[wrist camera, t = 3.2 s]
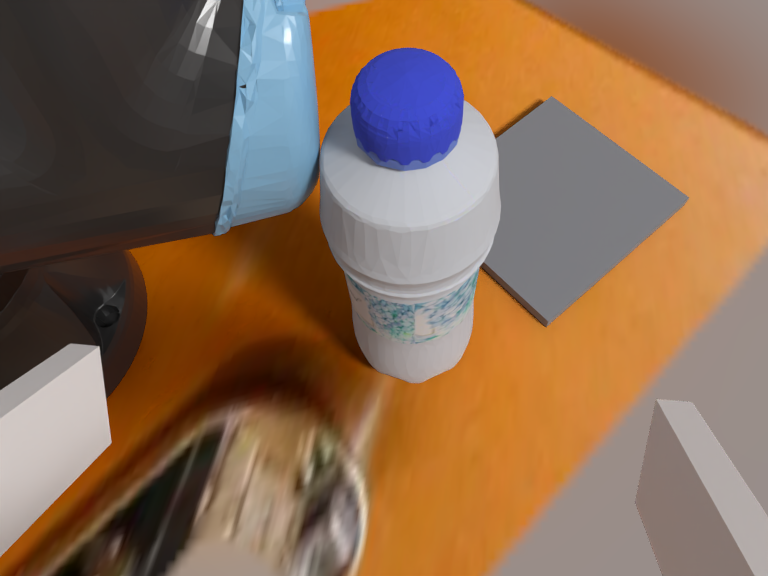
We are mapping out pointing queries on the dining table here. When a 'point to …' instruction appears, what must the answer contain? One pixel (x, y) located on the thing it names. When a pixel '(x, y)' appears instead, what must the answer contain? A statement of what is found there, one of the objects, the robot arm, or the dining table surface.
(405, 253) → the bottle
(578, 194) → the mat
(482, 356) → the dining table surface
